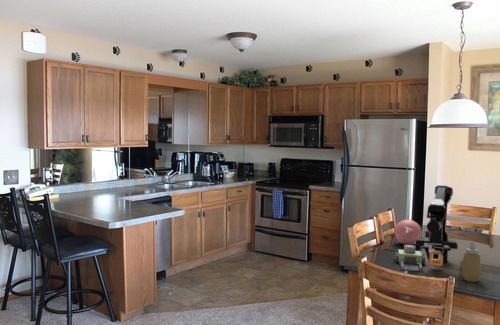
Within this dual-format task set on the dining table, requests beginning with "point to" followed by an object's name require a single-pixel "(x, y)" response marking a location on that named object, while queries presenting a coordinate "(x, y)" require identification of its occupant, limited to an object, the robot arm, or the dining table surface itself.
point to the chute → (435, 261)
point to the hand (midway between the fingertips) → (435, 260)
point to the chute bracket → (411, 266)
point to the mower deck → (409, 255)
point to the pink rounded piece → (407, 232)
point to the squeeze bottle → (471, 264)
